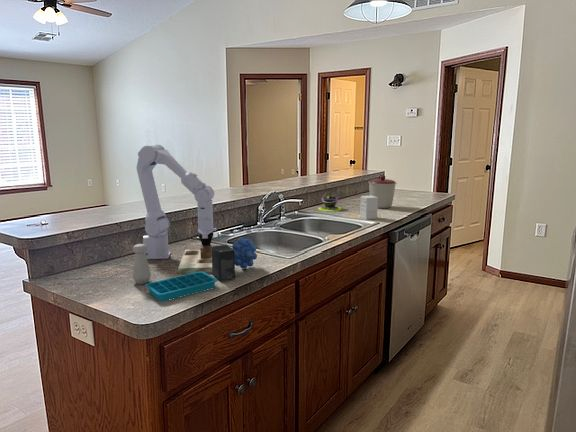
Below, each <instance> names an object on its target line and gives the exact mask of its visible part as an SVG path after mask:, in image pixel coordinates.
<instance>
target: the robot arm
mask: <svg viewBox="0 0 576 432" xmlns="http://www.w3.org/2000/svg"><path fill="white" fill-rule="evenodd" d="M137 157H138V159H137V164H136V172H137V175H138V176H137V177H138V181H139V183H140V189H141V193H142V197H143V201H144V205H145V208H146V215H145V217H144V221H145V222H144V223H145V226H144V229H145V233H146V234H147V235H146V234H145V235H143V236H142V237H143V238H142V244H145V245H146V247H147V251H146V252H145V253H146V257H147V260H163V259H166V260H169V258H170V256H171V255H172V252H171V251H170V250H169V237H168V236H169V234H168V230H169V228H170V226H171V222H170V220H169V218H168V217H167V215H166V213H165V211H164V210H163V209H162V207H161V202H160V199H159V194H158V190H157V187H156V186H157V185H156V182H155V178H154V173H153V170H154V168H155V167H156V166H157V164H158V165H163V166H165V167H167V168H168V169H169V170H171V171H172V172H173V173H174V174H175V175H176V176H178V177H179V178H180V182H181V184H182V185H183V186H184V188H186V189H187V190H188V191H189V192H190V193H191V194H192V195H193V196H194V199H195V201H196V202H197V203H196V204H197V225H198V226H197V227H198V229H197V232H198V233H199V234H198V239H199V241H200V242H201V245H211V243H212V241H213V238H214V232H216V231H217V227H214V209H213V208H214V207H213V199H214V197H215V192H214V189H213V188H212V186H210V185H207V184H206V183H205V182H203V181H202V180H201V179H199V177H197V176H198V175H197V174H196V173H193V172H191V171H190V172H187V170H186V169H185V168H184V167H183V166H182V165H181V164H180V163H179V162H178V161H177V160H176V159H175V158H174V157H173V155H172V154H171V153H170V152H169V151H168V149H165V147H164V146H162V145H161V144H155V145H144V146H143V147H141V148H140V150H139V151H138V152H137Z"/></svg>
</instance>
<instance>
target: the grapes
mask: <svg viewBox="0 0 576 432" xmlns="http://www.w3.org/2000/svg"><path fill="white" fill-rule="evenodd" d="M231 248H232V249H234V252H235V267H240V268H241V269H242V270H245V269H247V268H248V267H253V265H254V261H255V260H257V257H258V254H257V253H256V251H257V246H256V244H254V243H253V242H252V240H251V239H250V238H243V237H239V238H238V239H237V242H233V243H232V246H231Z"/></svg>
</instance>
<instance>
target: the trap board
mask: <svg viewBox="0 0 576 432" xmlns="http://www.w3.org/2000/svg"><path fill="white" fill-rule="evenodd" d="M200 271H202V272H205V273H207V274H210V273H211V274H212V257H211V258H201V253H200V249H185V250H184V252H183V254H182V257H181V260H180V262H179V265H178V268H177V272H178V275H179V274H180V275H186V274H190V273H195V272H200Z"/></svg>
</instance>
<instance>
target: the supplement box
mask: <svg viewBox="0 0 576 432" xmlns="http://www.w3.org/2000/svg"><path fill="white" fill-rule="evenodd" d="M377 207H378V197H375V196H372V195H370V194H369V195H360V211H359V215H360V216H359V217H360V218H361V219H364V220H366V221H367V220H377V219H378V208H377Z"/></svg>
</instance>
